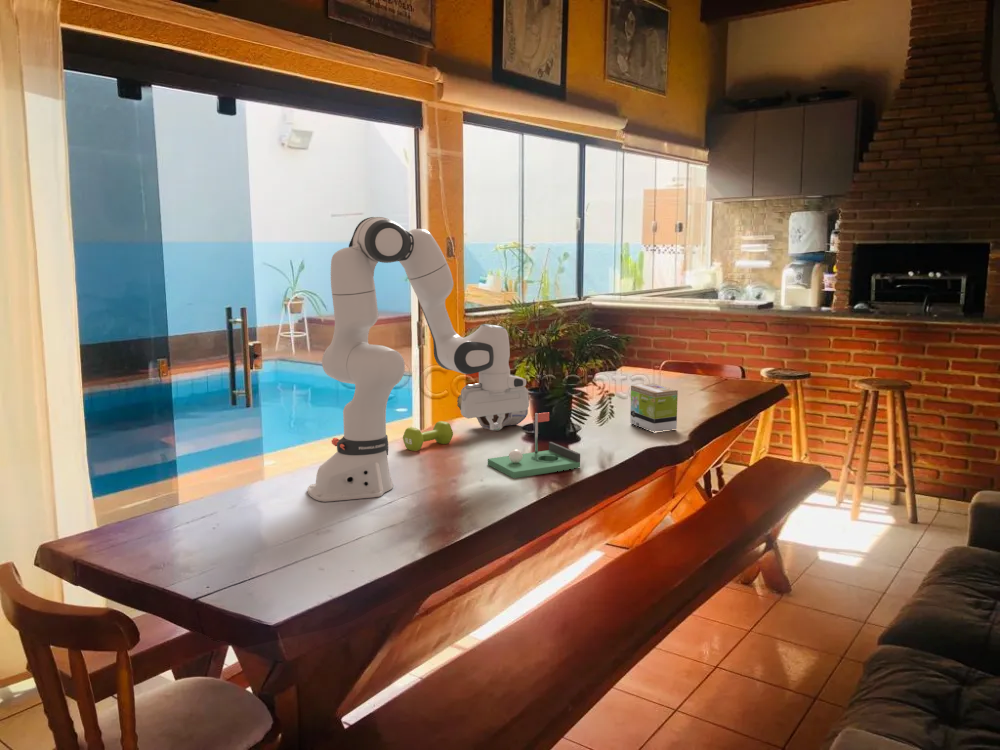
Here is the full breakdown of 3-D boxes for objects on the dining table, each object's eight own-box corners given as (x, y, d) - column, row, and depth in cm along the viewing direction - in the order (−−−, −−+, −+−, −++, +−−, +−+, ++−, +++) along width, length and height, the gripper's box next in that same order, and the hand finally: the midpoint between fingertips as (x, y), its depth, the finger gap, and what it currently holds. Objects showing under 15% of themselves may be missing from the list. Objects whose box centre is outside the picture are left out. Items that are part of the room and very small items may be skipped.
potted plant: (499, 380, 299) (446, 371, 275) (538, 388, 288) (487, 379, 264) (490, 427, 299) (437, 421, 275) (529, 436, 288) (477, 431, 264)
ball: (512, 465, 231) (512, 452, 230) (506, 462, 235) (506, 448, 234) (525, 463, 233) (525, 450, 232) (518, 460, 236) (518, 447, 236)
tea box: (629, 425, 290) (629, 384, 288) (652, 422, 294) (653, 382, 292) (653, 434, 276) (654, 391, 274) (677, 431, 281) (679, 389, 278)
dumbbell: (416, 453, 252) (415, 431, 251) (400, 449, 258) (400, 427, 257) (455, 444, 264) (455, 422, 263) (439, 440, 269) (439, 419, 268)
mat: (513, 478, 225) (513, 463, 224) (487, 464, 239) (487, 450, 238) (580, 468, 235) (580, 453, 234) (551, 455, 249) (551, 441, 248)
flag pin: (535, 459, 245) (536, 413, 242) (534, 458, 245) (534, 413, 243) (549, 457, 247) (549, 412, 245) (548, 456, 248) (548, 411, 245)
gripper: (465, 387, 219) (467, 436, 222) (531, 379, 228) (531, 427, 231) (456, 383, 225) (457, 431, 227) (520, 376, 234) (521, 422, 236)
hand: (495, 429), depth 229 cm, fingers closed
